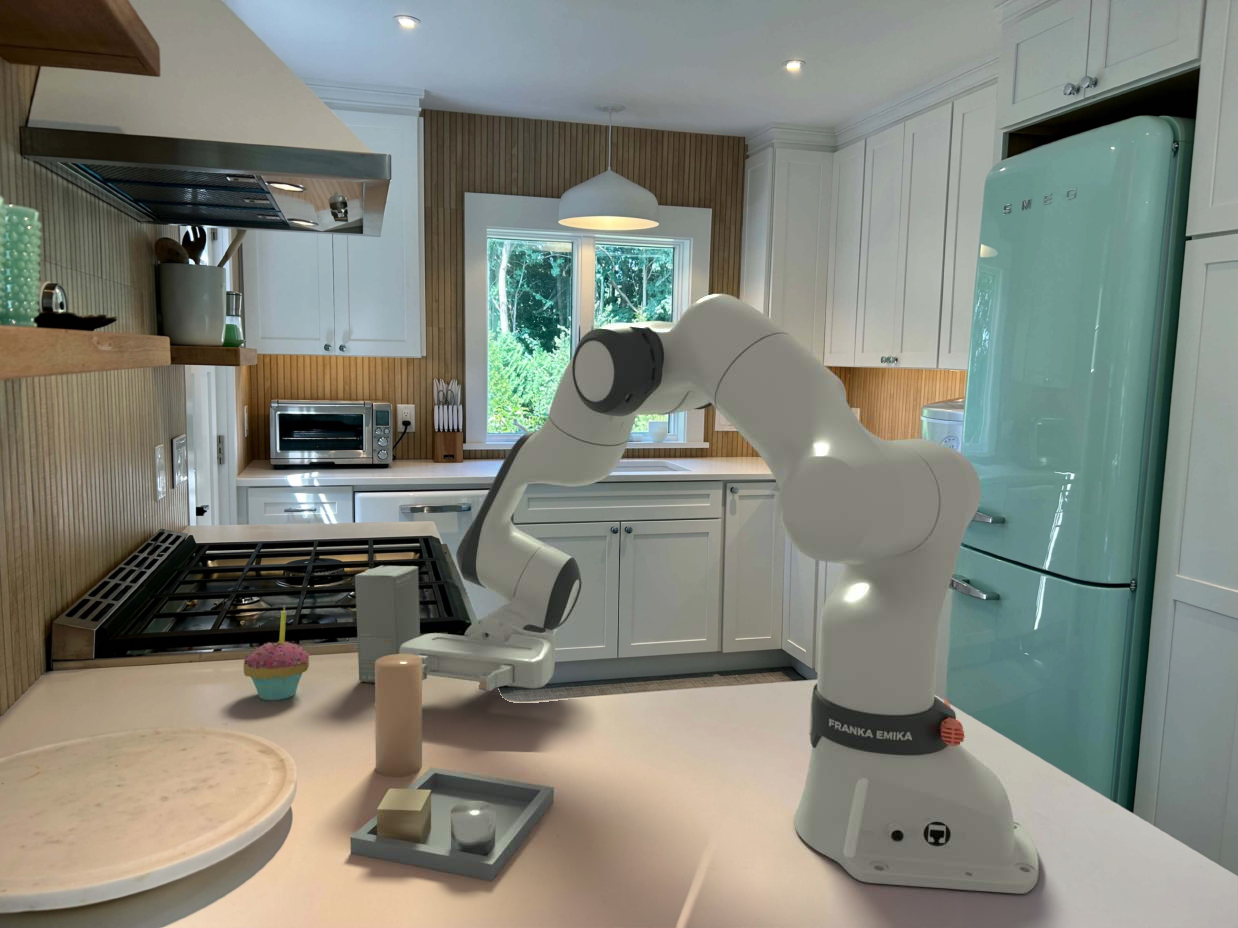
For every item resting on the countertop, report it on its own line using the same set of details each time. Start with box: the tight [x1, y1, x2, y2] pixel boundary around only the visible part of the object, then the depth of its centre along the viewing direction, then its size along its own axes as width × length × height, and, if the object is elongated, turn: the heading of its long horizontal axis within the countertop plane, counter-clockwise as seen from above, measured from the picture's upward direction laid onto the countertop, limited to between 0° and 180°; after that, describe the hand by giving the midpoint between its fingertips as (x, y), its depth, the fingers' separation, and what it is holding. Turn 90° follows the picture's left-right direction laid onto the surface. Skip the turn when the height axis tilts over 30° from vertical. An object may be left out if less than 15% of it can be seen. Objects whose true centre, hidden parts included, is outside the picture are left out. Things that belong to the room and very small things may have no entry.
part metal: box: [451, 801, 496, 856], centre depth 80 cm, size 4×4×4 cm
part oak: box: [376, 788, 431, 844], centre depth 82 cm, size 4×4×4 cm
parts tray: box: [349, 767, 555, 882], centre depth 85 cm, size 14×15×2 cm
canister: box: [374, 654, 423, 778], centre depth 97 cm, size 5×5×13 cm
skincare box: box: [354, 565, 421, 684], centre depth 129 cm, size 8×7×16 cm
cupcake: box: [243, 604, 310, 701], centre depth 120 cm, size 9×8×12 cm
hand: (449, 679), depth 108 cm, fingers open, 8 cm apart
